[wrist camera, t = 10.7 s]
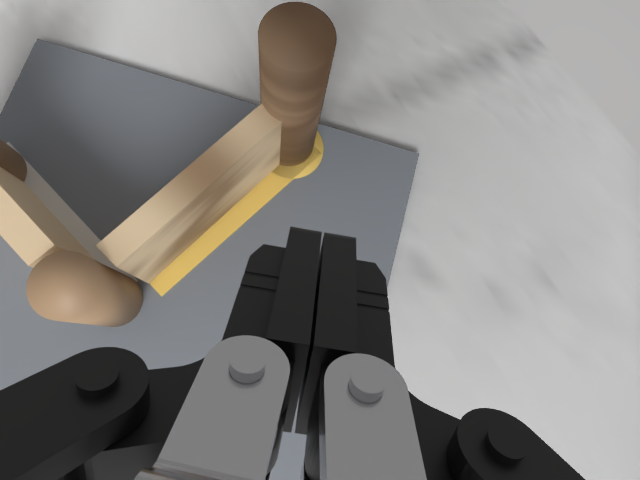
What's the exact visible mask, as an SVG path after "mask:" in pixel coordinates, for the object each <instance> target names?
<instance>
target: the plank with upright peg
mask: <svg viewBox="0 0 640 480" xmlns="http://www.w3.org/2000/svg"><path fill="white" fill-rule="evenodd" d="M336 39H337V37H336V31H335V28H334V25H333V23H332V22H331V20H330V19H329V17H328V16H327V15H326V14H325V13H324V12H323V11H321V10H320V9H318V8H317V7H315V6H313V5H310V4H307V3H303V2H287V3H283V4H280V5H278V6H276V7H274V8H272V9H271V10H270V11H268V12H267V13H266V15H265V16H264V17H263V19H262V20H261V23H260V25H259V30H258V43H259V70H260V96H261V104H260V105H259V106H258V107H257V108H255V109H254V110H253V111H252V112H251V113H250V114H248V115H247V116H246V117H245V118H244V119H243V120H241V121H240V122H239V123H238V124H237V125H236V126H234V127H233V128H232V129H231V130H230V131H229V132H227V133H226V134H225V135H224V136H223V137H222V138H220V139H219V140H218V141H217V142H216V143H215V144H213V145H212V146H211V147H210V148H209V149H208V150H206V151H205V152H204V153H203V154H202V155H201V156H199V157H198V158H197V159H196V160H195V161H194V162H192V163H191V164H190V165H189V166H188V167H187V168H185V169H184V170H183V171H182V172H181V173H180V174H178V175H177V176H176V177H175V178H174V179H173V180H171V181H170V182H169V183H168V184H167V185H166V186H164V187H163V188H162V189H161V190H160V191H159V192H157V193H156V194H155V195H154V196H153V197H152V198H150V199H149V200H148V201H147V202H146V203H145V204H143V205H142V206H141V207H140V208H139V209H138V210H136V211H135V212H134V213H133V214H132V215H131V216H129V217H128V218H127V219H126V220H125V221H124V222H123V223H121V224H120V225H119V226H118V227H117V228H116V229H114V230H113V231H112V232H111V233H110V234H109V235H107V236H106V237H105V238H104V239H103V240H102V241H100V242H99V243H98V244H97V245H96V247H97V248H98V249H99V250H100V251H101V252H102V253H103V254H104V255H105V256H106V257H107V258H108V259H109V260H110V261H111V262H112V263H113V264H114V265H115V266H116V267H117V268H119V269H121V270H123V271H125V272H127V273H129V274H131V275H133V276H135V277H137V278H139V279H141V280H143V281H145V282H147V283H150V282H151V281H152V280H153V279H154V278H155V277H156V276H158V275H159V274H160V273H161V272H162V271H163V270H164V269H165V268H166V267H167V266H169V265H170V264H171V263H172V262H173V261H174V260H175V259H176V258H177V257H178V256H180V255H181V254H182V253H183V252H184V251H185V250H186V249H187V248H188V247H189V246H191V245H192V244H193V243H194V242H195V241H196V240H197V239H198V238H199V237H200V236H202V235H203V234H204V233H205V232H206V231H207V230H208V229H209V228H210V227H211V226H213V225H214V224H215V223H216V222H217V221H218V220H219V219H220V218H221V217H222V216H224V215H225V214H226V213H227V212H228V211H229V210H230V209H231V208H232V207H233V206H234V205H236V204H237V203H238V202H239V201H240V200H241V199H242V198H243V197H244V196H245V195H247V194H248V193H249V192H250V191H251V190H252V189H253V188H254V187H255V186H256V185H258V184H259V183H260V182H261V181H262V180H263V179H264V178H265V177H266V176H267V175H269V174H270V173H271V172H272V171H273V170H274V169H275V168H276V167H277V166H278V165H282V166H295V165H298V164H301V163H303V162H304V161H305V160H307V159H308V157H309V156H310V155H311V153H312V150H313V147H314V142H315V138H316V133H317V129H318V124H319V119H320V115H321V110H322V106H323V101H324V97H325V92H326V88H327V83H328V79H329V74H330V69H331V65H332V60H333V56H334V51H335V47H336Z"/></svg>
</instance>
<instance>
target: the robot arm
mask: <svg viewBox="0 0 640 480" xmlns="http://www.w3.org/2000/svg"><path fill="white" fill-rule="evenodd" d="M321 237H322V232H321V231H315V230H309V229H303V228H297V227H290V231H289V235H288V240H287V244H286V248H284V247H278V246H272V245H266V244H263V245H262V246H261V247H259V248H258V249H257V250H256V251H255V252H254V253H252V254H251V255H250V257H249V260H248V263H247V266H246V269H245V273H244V275H243V278H242V281H241V284H240V287H239V290H238V293H237V296H236V299H235V302H234V305H233V308H232V311H231V314H230V317H229V320H228V323H227V326H226V329H225V332H224V335H223V338H222V340H221V342H219V343H217V344H216V345H215V346H213V347H212V348H211V349H210V351H209V352H208V353H207V355H206V357H204V358H203V359H201V360H199V361H196V362H194V363H191V364H187V365H184V366H178V367H169V368H160V369H150V370H148V368H147V366H146V364H145V362H144V361H143V360H142V358H140V357H139V356H138V355H137V354H135V353H133V352H132V351H129V350H126V349H123V348H118V347H99V348H93V349H89V350H86V351H83V352H80V353H78V354H75V355H73V356H71V357H69V358H67V359H65V360H63V361H61V362H59V363H56V364H54V365H52V366H50V367H48V368H46V369H44V370H42V371H40V372H38V373H36V374H33V375H31V376H29V377H27V378H25V379H23V380H21V381H19V382H17V383H15V384H13V385H10V386H8V387H6V388H4V389H2V390H0V480H270V476H271V471H272V469H273V467H274V466H275V464H276V461H277V458H278V454H279V449H280V444H281V439H282V434H283V432H290V433H291V431H292V427H293V422H294V417H295V412H296V408H297V403H298V410H297V418H296V427H295V433H298V434H304V435H307V437H306V447H305V457H304V461H303V465H302V469H301V474H300V480H585V479H584V478H583V477H582V476H581V475H580V474H579V473H577V472H576V471H575V470H574V469H573V468H572V467H571V466H570V465H569V464H568V463H567V462H566V461H564V460H563V459H562V458H561V457H560V456H559V455H558V454H557V453H556V452H555V451H554V450H553V449H551V448H550V447H549V446H548V445H547V444H546V443H545V442H544V441H543V440H542V439H541V438H540V437H538V436H537V435H536V434H535V433H534V432H533V431H532V430H531V429H530V428H529V427H527V426H526V425H525V424H524V423H523V422H521V421H520V420H518V419H517V418H515V417H513V416H511V415H509V414H507V413H505V412H502V411H499V410H495V409H489V408H479V409H475V410H472V411H470V412H468V413H466V414H465V415H464V416H463V417H462V419H461V420H459V419H457V418H455V417H453V416H450V415H448V414H446V413H444V412H442V411H439V410H437V409H435V408H433V407H431V406H429V405H427V404H425V403H423V402H422V401H420V400H419V399H417V398H416V397H415V396H414V395H412V394H411V393H410V392H409V391H408V389H407V385H406V383H405V381H404V379H403V377H402V376H401V375H400V373H399V372H398V371H397V370H396V369H395V365H394V355H393V345H392V335H391V325H390V314H389V312H388V311H389V304H388V298H387V295H388V294H387V284H386V278H385V276H384V275H383V273H382V272H381V270H380V269H379V267H378V266H377V264H376V263H373V262H367V261H361V260H357V257H356V237H350V236H345V235H339V234H333V233H327V232H324V236H323V240H322V245H321ZM320 246H321V250H320ZM298 398H299V402H298Z"/></svg>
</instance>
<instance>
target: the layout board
mask: <svg viewBox="0 0 640 480" xmlns="http://www.w3.org/2000/svg"><path fill="white" fill-rule="evenodd" d="M258 106H259V105H256V104H253V103H249V102H246V101H243V100H239V99H236V98H233V97H229V96H226V95H223V94H219V93H216V92H213V91H209V90H206V89H203V88H199V87H196V86H193V85H190V84H186V83H183V82H180V81H176V80H173V79H170V78H166V77H163V76H160V75H156V74H153V73H150V72H146V71H143V70H140V69H136V68H133V67H130V66H126V65H123V64H120V63H117V62H113V61H110V60H107V59H103V58H100V57H97V56H93V55H90V54H87V53H83V52H80V51H77V50H73V49H70V48H67V47H63V46H60V45H57V44H53V43H50V42H47V41H43V40H40V39H37V41H36V43H35V45H34V47H33V49H32V51H31V53H30V55H29V57H28V59H27V61H26V63H25V65H24V67H23V69H22V71H21V74H20V76H19V78H18V80H17V82H16V84H15V86H14V88H13V90H12V92H11V94H10V96H9V98H8V100H7V102H6V104H5V106H4V108H3V110H2V113H1V115H0V390H2V389H4V388H6V387H8V386H10V385H13V384H15V383H17V382H19V381H21V380H23V379H25V378H27V377H29V376H31V375H33V374H36V373H38V372H40V371H42V370H44V369H46V368H48V367H50V366H52V365H54V364H56V363H59V362H61V361H63V360H65V359H67V358H69V357H71V356H73V355H75V354H78V353H80V352H83V351H86V350H89V349H93V348H99V347H118V348H123V349H126V350H129V351H132V352H133V353H135V354H137V355H138V356H139V357H140V358H142V360H143V361H144V362H145V364H146V366H147V368H148V370H150V369H160V368H169V367H178V366H184V365H187V364H191V363H194V362H196V361H199V360H201V359H203V358H204V357H206V355H207V353H208V352H209V351H210V349H211V348H212V347H213V346H215V345H216V344H217V343H219V342H221V340H222V338H223V335H224V332H225V329H226V326H227V323H228V320H229V317H230V314H231V311H232V308H233V305H234V302H235V299H236V296H237V293H238V290H239V287H240V284H241V281H242V278H243V275H244V273H245V269H246V266H247V263H248V260H249V257H250V255H251V254H252V253H254V252H255V251H256V250H257V249H258V248H259V247H261V246H262V245H263V244H266V245H272V246H278V247H284V248H286V244H287V240H288V235H289V231H290V227H297V228H303V229H309V230H315V231H321V232H322V237H321V245H322V240H323V236H324V232H327V233H333V234H339V235H345V236H350V237H356V257H357V260H361V261H367V262H373V263H376V264H377V266H378V267H379V269H380V270H381V272H382V273H383V275H384V276H385V278H386V284H387V286H388V282H389V278H390V274H391V270H392V265H393V261H394V257H395V253H396V249H397V244H398V240H399V236H400V232H401V228H402V223H403V219H404V215H405V211H406V206H407V202H408V198H409V194H410V190H411V185H412V181H413V177H414V173H415V169H416V164H417V160H418V156H419V153H415V152H412V151H409V150H405V149H402V148H399V147H395V146H392V145H389V144H385V143H382V142H379V141H375V140H372V139H369V138H365V137H362V136H359V135H356V134H352V133H349V132H346V131H342V130H339V129H336V128H332V127H329V126H326V125H322V124H318V129H317V133H316V138H315V142H314V147H313V150H312V153H311V155H310V156H309V157H308V159H307V160H305V161H304V162H303V163H301V164H298V165H295V166H282V165H278V166H277V167H276V168H275V169H274V170H273V171H272V172H271V173H270V174H269V175H267V176H266V177H265V178H264V179H263V180H262V181H261V182H260V183H259V184H258V185H256V186H255V187H254V188H253V189H252V190H251V191H250V192H249V193H248V194H247V195H245V196H244V197H243V198H242V199H241V200H240V201H239V202H238V203H237V204H236V205H234V206H233V207H232V208H231V209H230V210H229V211H228V212H227V213H226V214H225V215H224V216H222V217H221V218H220V219H219V220H218V221H217V222H216V223H215V224H214V225H213V226H211V227H210V228H209V229H208V230H207V231H206V232H205V233H204V234H203V235H202V236H200V237H199V238H198V239H197V240H196V241H195V242H194V243H193V244H192V245H191V246H189V247H188V248H187V249H186V250H185V251H184V252H183V253H182V254H181V255H180V256H178V257H177V258H176V259H175V260H174V261H173V262H172V263H171V264H170V265H169V266H167V267H166V268H165V269H164V270H163V271H162V272H161V273H160V274H159V275H158V276H156V277H155V278H154V279H153V280H152V281H151V282H150V283H147V282H145V281H143V280H141V279H139V278H137V277H135V276H133V275H131V274H129V273H127V272H125V271H123V270H121V269H119V268H117V267H116V266H115V265H114V264H113V263H112V262H111V261H110V260H109V259H108V258H107V257H106V256H105V255H104V254H103V253H102V252H101V251H100V250H99V249H98V248H97V247H96V245H97V244H98V243H99V242H100V241H102V240H103V239H104V238H105V237H106V236H107V235H109V234H110V233H111V232H112V231H113V230H114V229H116V228H117V227H118V226H119V225H120V224H121V223H123V222H124V221H125V220H126V219H127V218H128V217H129V216H131V215H132V214H133V213H134V212H135V211H136V210H138V209H139V208H140V207H141V206H142V205H143V204H145V203H146V202H147V201H148V200H149V199H150V198H152V197H153V196H154V195H155V194H156V193H157V192H159V191H160V190H161V189H162V188H163V187H164V186H166V185H167V184H168V183H169V182H170V181H171V180H173V179H174V178H175V177H176V176H177V175H178V174H180V173H181V172H182V171H183V170H184V169H185V168H187V167H188V166H189V165H190V164H191V163H192V162H194V161H195V160H196V159H197V158H198V157H199V156H201V155H202V154H203V153H204V152H205V151H206V150H208V149H209V148H210V147H211V146H212V145H213V144H215V143H216V142H217V141H218V140H219V139H220V138H222V137H223V136H224V135H225V134H226V133H227V132H229V131H230V130H231V129H232V128H233V127H234V126H236V125H237V124H238V123H239V122H240V121H241V120H243V119H244V118H245V117H246V116H247V115H248V114H250V113H251V112H252V111H253V110H254V109H255V108H257V107H258ZM320 250H321V246H320ZM298 402H299V398H298ZM297 410H298V403H297V408H296V412H295V417H294V422H293V427H292V431H291V433H290V432H283V434H282V439H281V444H280V449H279V454H278V458H277V461H276V464H275V466H274V467H273V469H272V471H271V476H270V480H300V474H301V469H302V465H303V461H304V457H305V447H306V437H307V435H304V434H298V433H295V427H296V418H297Z"/></svg>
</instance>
